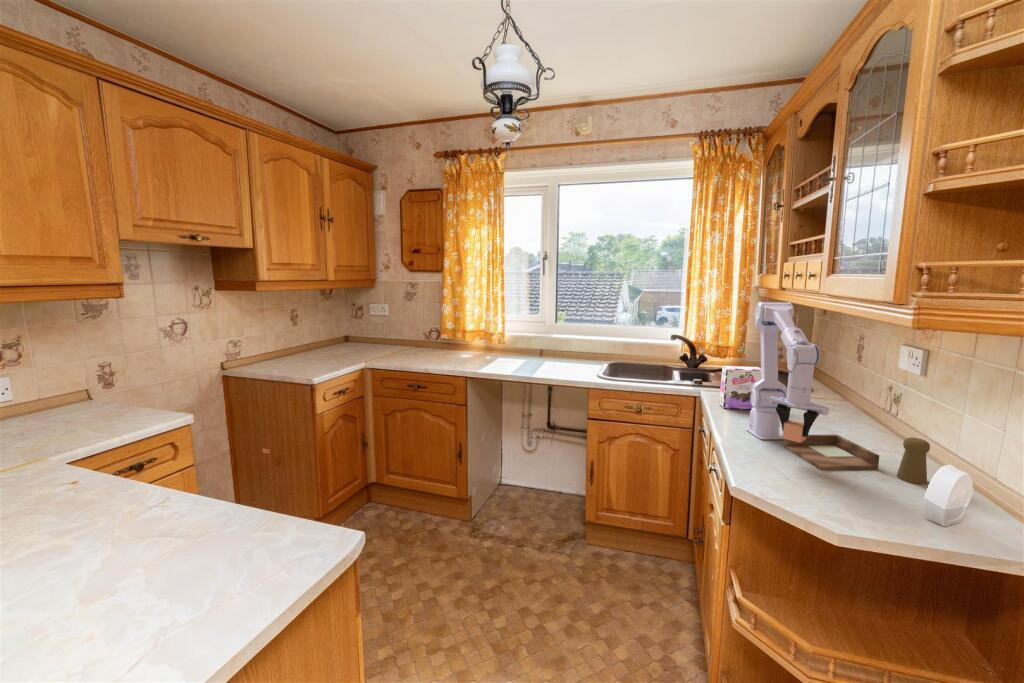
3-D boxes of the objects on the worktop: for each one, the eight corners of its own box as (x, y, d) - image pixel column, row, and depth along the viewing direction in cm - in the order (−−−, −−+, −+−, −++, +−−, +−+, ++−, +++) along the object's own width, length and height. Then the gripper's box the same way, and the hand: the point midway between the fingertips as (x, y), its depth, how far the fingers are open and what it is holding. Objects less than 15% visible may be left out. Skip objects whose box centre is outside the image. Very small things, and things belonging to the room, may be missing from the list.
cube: (782, 438, 128) (784, 423, 127) (788, 434, 131) (790, 419, 130) (800, 442, 125) (802, 427, 124) (806, 438, 128) (807, 423, 127)
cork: (933, 485, 114) (939, 444, 112) (905, 483, 115) (911, 442, 114) (917, 475, 120) (922, 435, 118) (891, 473, 121) (896, 434, 120)
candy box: (723, 409, 178) (725, 368, 176) (718, 404, 184) (721, 365, 181) (760, 410, 176) (764, 369, 173) (755, 406, 182) (758, 366, 179)
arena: (784, 447, 139) (785, 434, 139) (835, 446, 139) (837, 434, 139) (820, 469, 123) (821, 455, 123) (877, 469, 124) (879, 455, 123)
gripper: (765, 384, 129) (762, 429, 131) (825, 394, 118) (819, 444, 120) (775, 380, 133) (771, 424, 135) (833, 390, 122) (828, 438, 124)
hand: (795, 433), depth 128 cm, fingers closed on cube, 4 cm apart
